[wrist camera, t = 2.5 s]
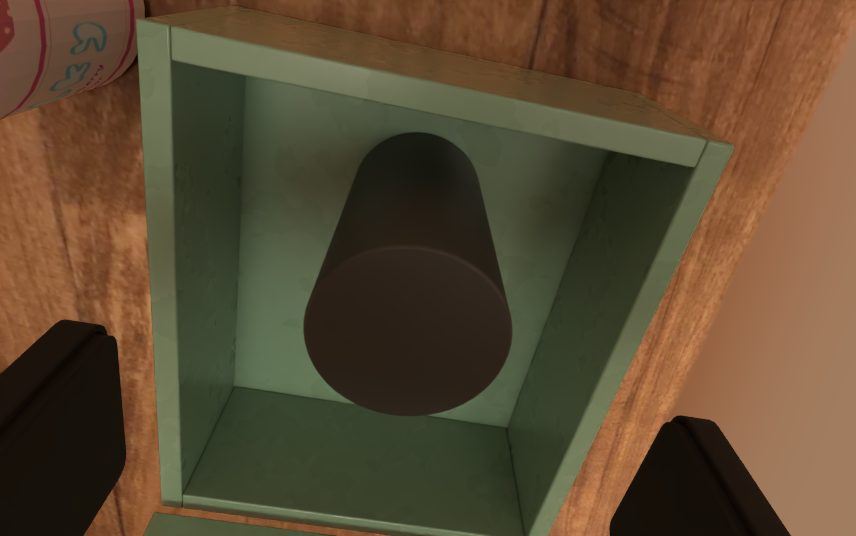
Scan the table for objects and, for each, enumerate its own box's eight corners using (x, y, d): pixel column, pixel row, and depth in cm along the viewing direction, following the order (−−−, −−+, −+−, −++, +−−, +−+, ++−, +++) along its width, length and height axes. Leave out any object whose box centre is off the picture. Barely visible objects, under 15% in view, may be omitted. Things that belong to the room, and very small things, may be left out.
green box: (232, 4, 17) (134, 18, 11) (643, 93, 18) (737, 145, 12) (223, 384, 24) (161, 505, 18) (515, 429, 25) (539, 555, 20)
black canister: (363, 119, 18) (313, 226, 10) (494, 146, 18) (539, 268, 10) (346, 239, 20) (294, 401, 12) (463, 260, 20) (483, 430, 12)
